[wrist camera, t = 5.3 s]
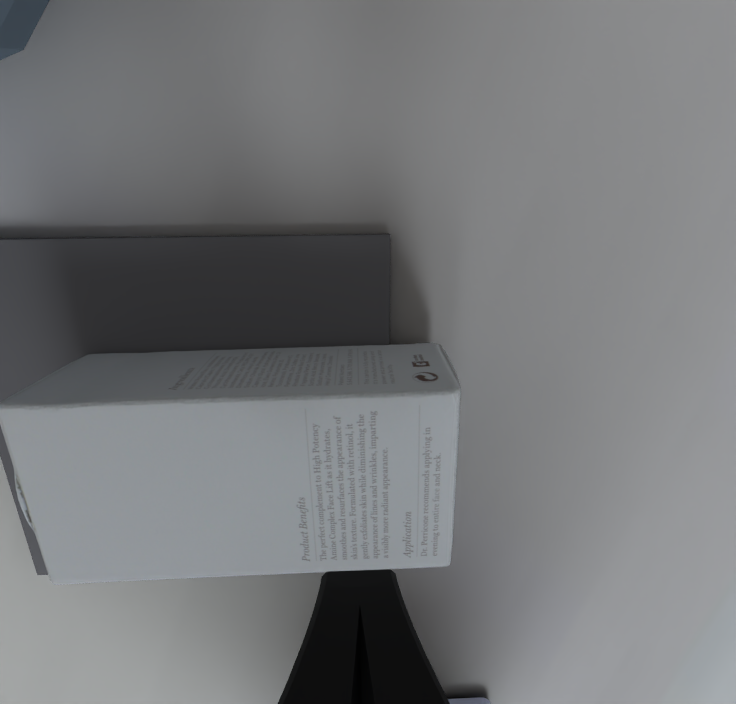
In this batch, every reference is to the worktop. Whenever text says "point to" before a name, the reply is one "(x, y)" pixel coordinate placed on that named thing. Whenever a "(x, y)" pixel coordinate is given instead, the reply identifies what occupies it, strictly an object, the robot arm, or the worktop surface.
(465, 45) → the worktop surface
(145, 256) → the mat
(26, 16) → the tan and blue container
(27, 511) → the skincare box
